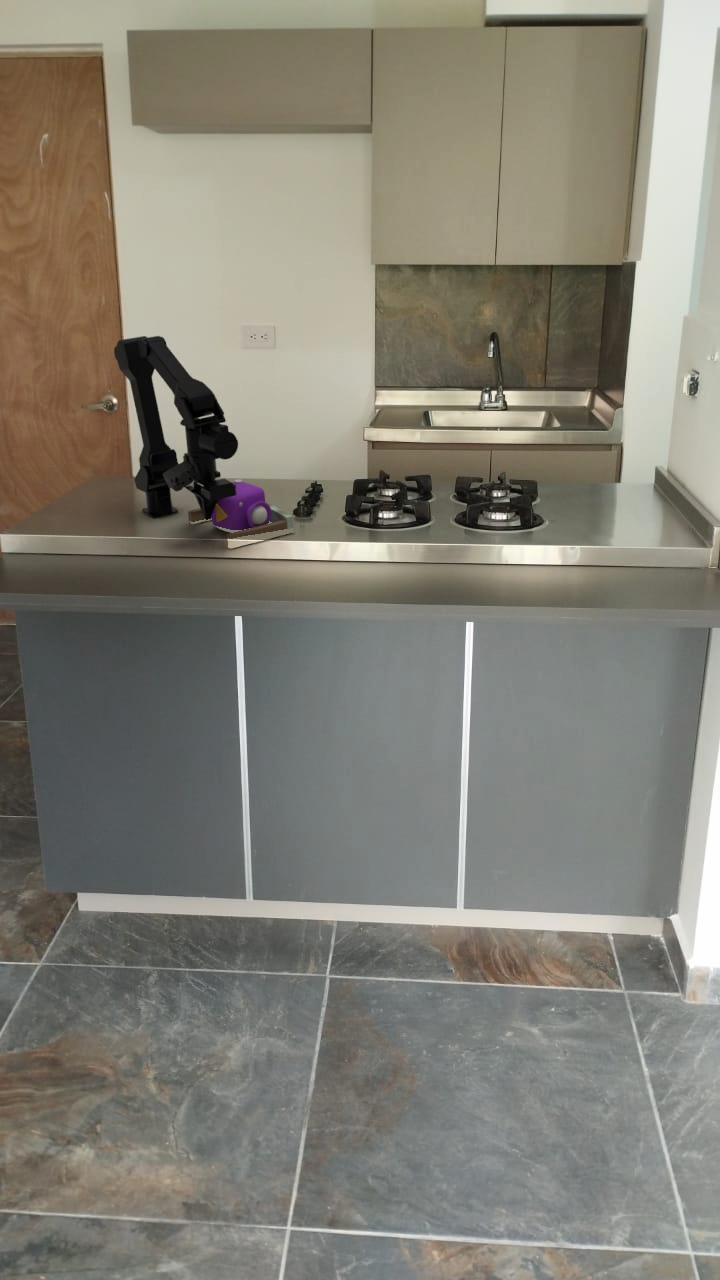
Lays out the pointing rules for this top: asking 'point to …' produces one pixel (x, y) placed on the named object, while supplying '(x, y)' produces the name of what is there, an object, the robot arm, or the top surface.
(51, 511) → the top surface
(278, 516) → the walnut dock
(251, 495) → the toy camera
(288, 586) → the top surface
